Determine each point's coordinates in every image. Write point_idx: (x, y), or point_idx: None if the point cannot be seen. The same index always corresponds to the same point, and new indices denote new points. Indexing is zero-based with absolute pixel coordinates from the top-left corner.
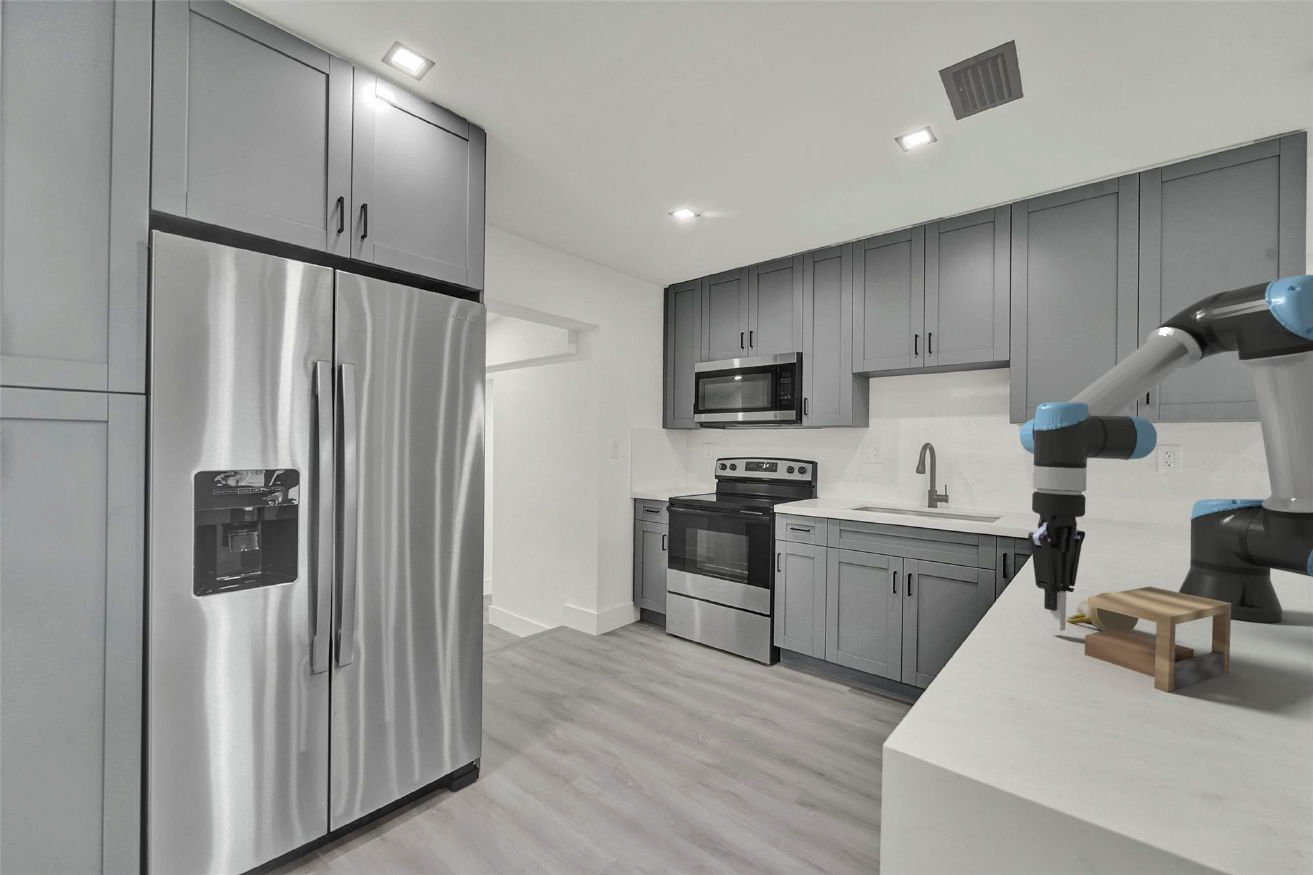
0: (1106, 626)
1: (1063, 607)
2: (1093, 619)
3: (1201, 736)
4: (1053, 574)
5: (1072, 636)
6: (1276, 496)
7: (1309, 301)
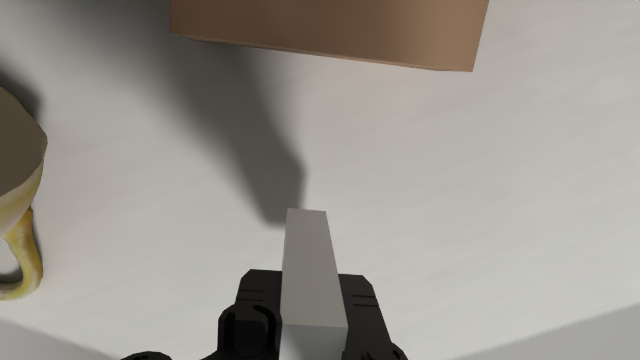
0: (36, 134)
1: (308, 263)
2: (34, 194)
3: None
4: None
5: (229, 191)
6: None
7: None
